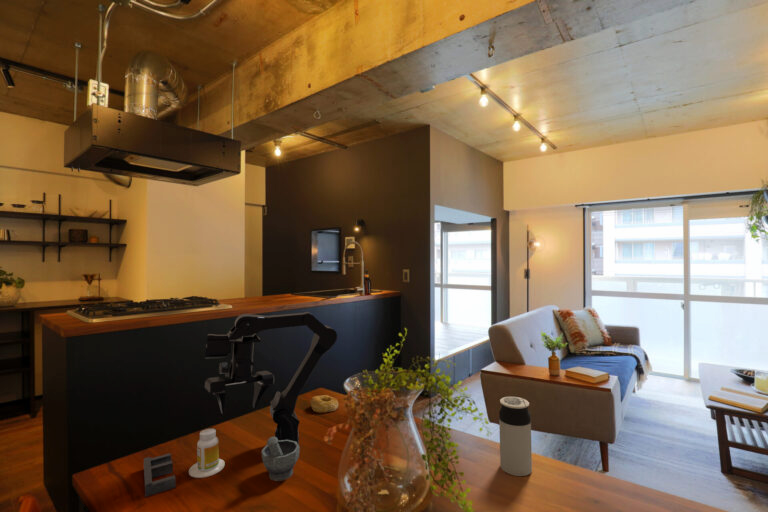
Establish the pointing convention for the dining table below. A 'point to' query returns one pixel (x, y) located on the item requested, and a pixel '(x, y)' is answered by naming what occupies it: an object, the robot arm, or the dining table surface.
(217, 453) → the supplement bottle
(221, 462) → the coaster
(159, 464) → the rail
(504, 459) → the travel mug
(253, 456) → the dining table surface
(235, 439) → the dining table surface
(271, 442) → the mortar and pestle
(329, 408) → the bagel
